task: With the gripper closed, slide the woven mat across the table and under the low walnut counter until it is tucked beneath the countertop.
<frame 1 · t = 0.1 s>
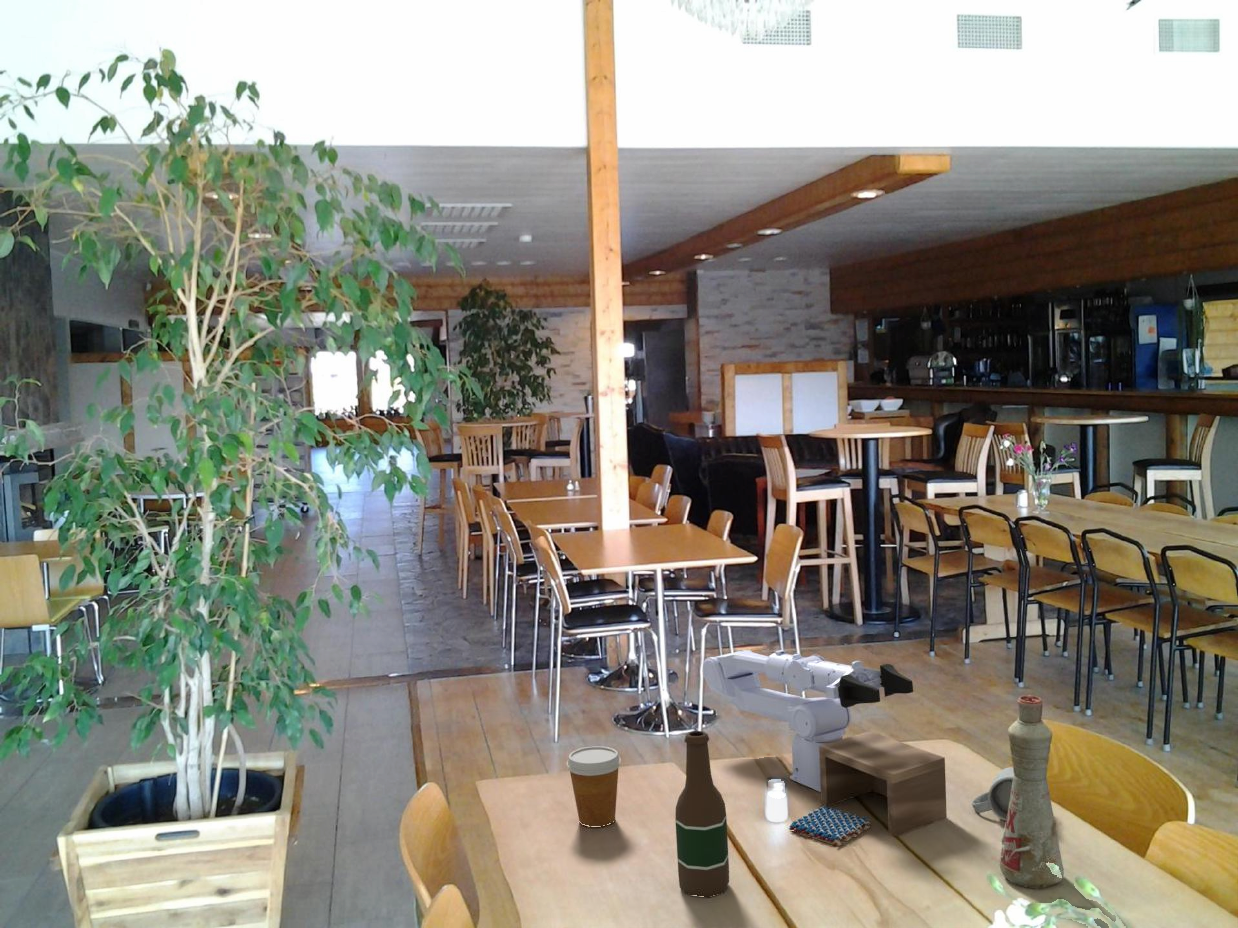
hand: (895, 691, 196), 22 cm above the table, tool horizontal, fingers open, 7 cm apart
woven mat: (830, 832, 194), on the table
beer bottle: (704, 887, 175), on the table
ceramic mug: (1005, 814, 196), on the table
walnut counter: (882, 810, 200), on the table
disposable coffee cup: (597, 821, 202), on the table
bottle: (1031, 878, 172), on the table
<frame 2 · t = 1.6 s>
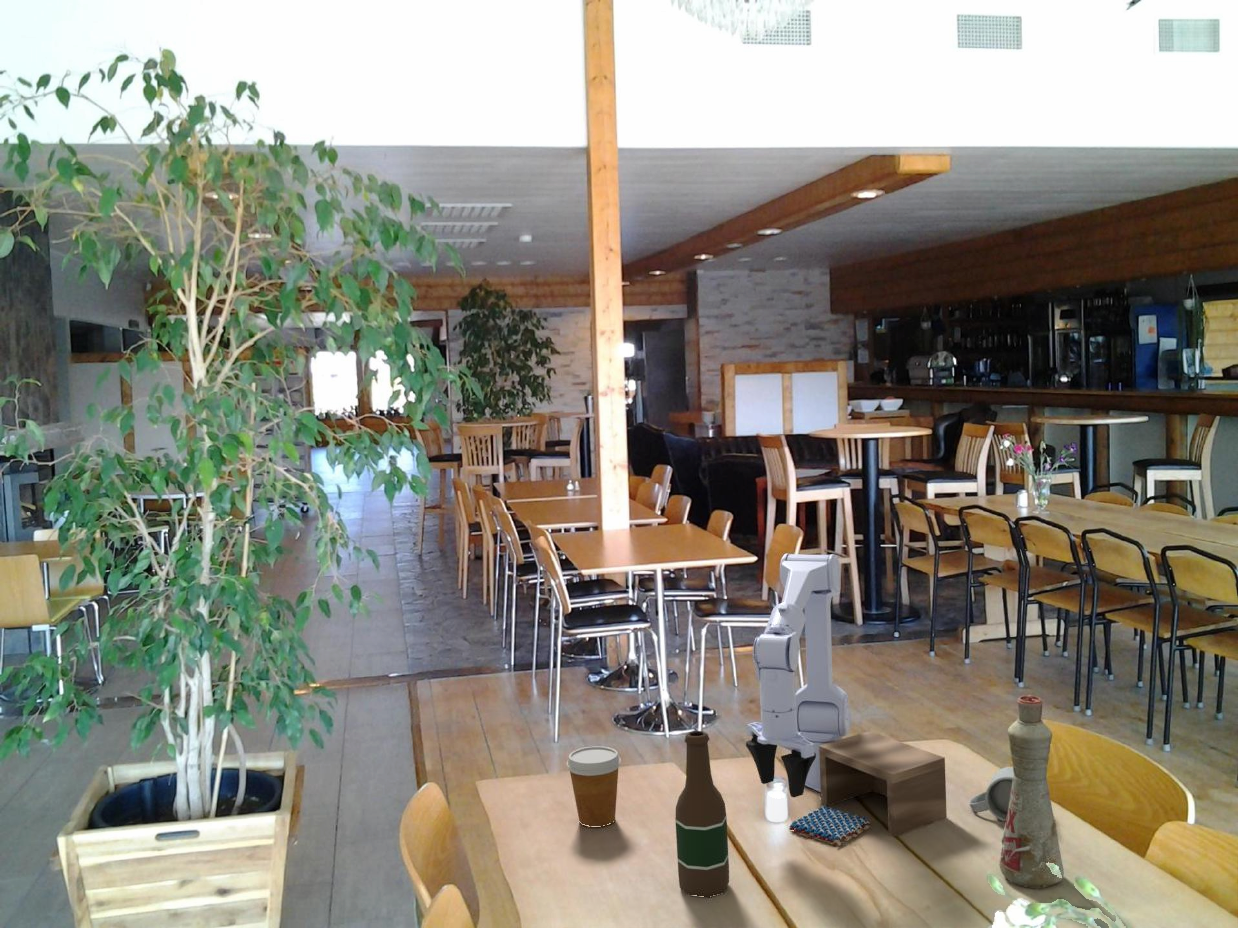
hand: (781, 788, 188), 9 cm above the table, tool pointing down, fingers open, 7 cm apart
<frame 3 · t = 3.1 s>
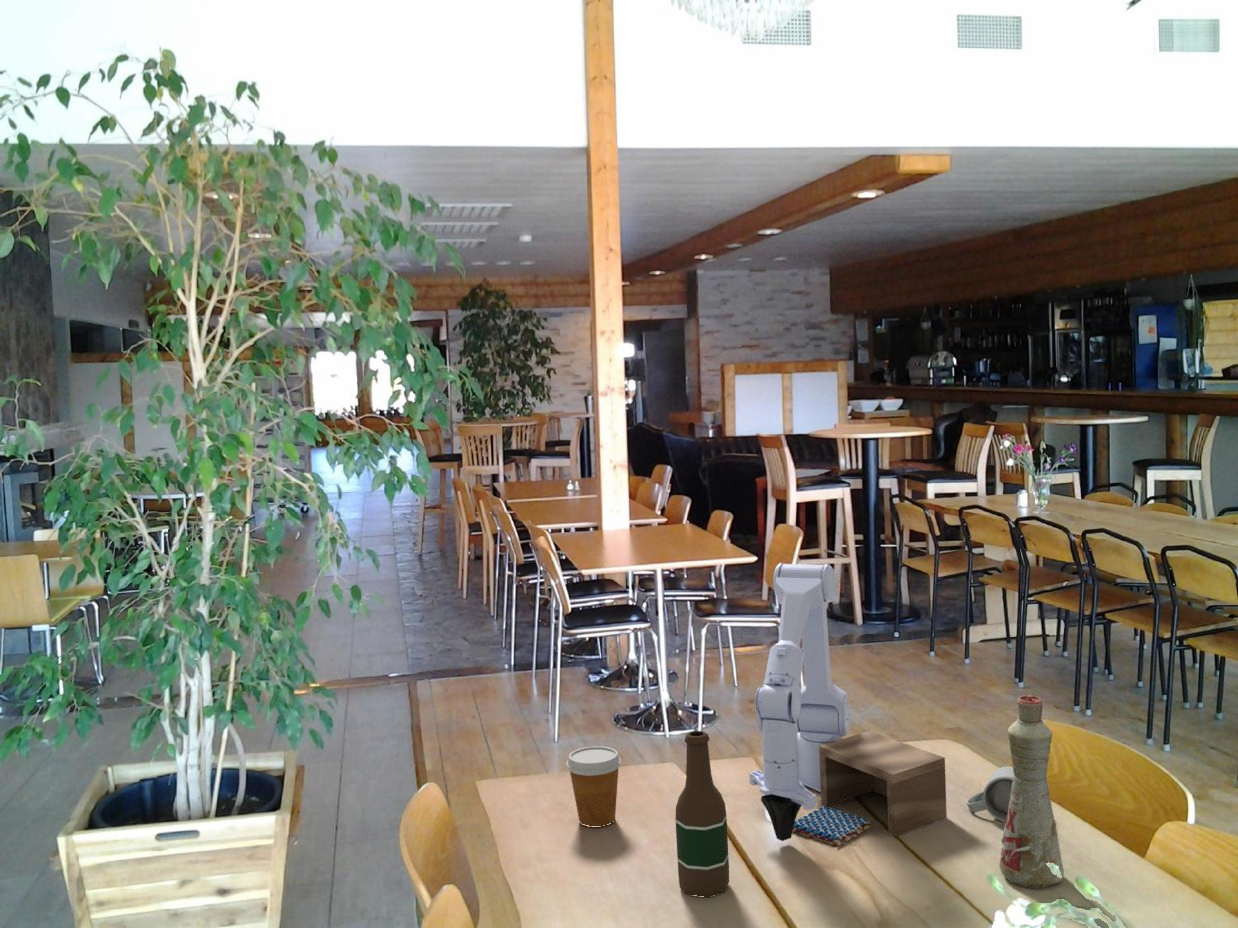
hand: (784, 838, 188), 1 cm above the table, tool pointing down, fingers closed
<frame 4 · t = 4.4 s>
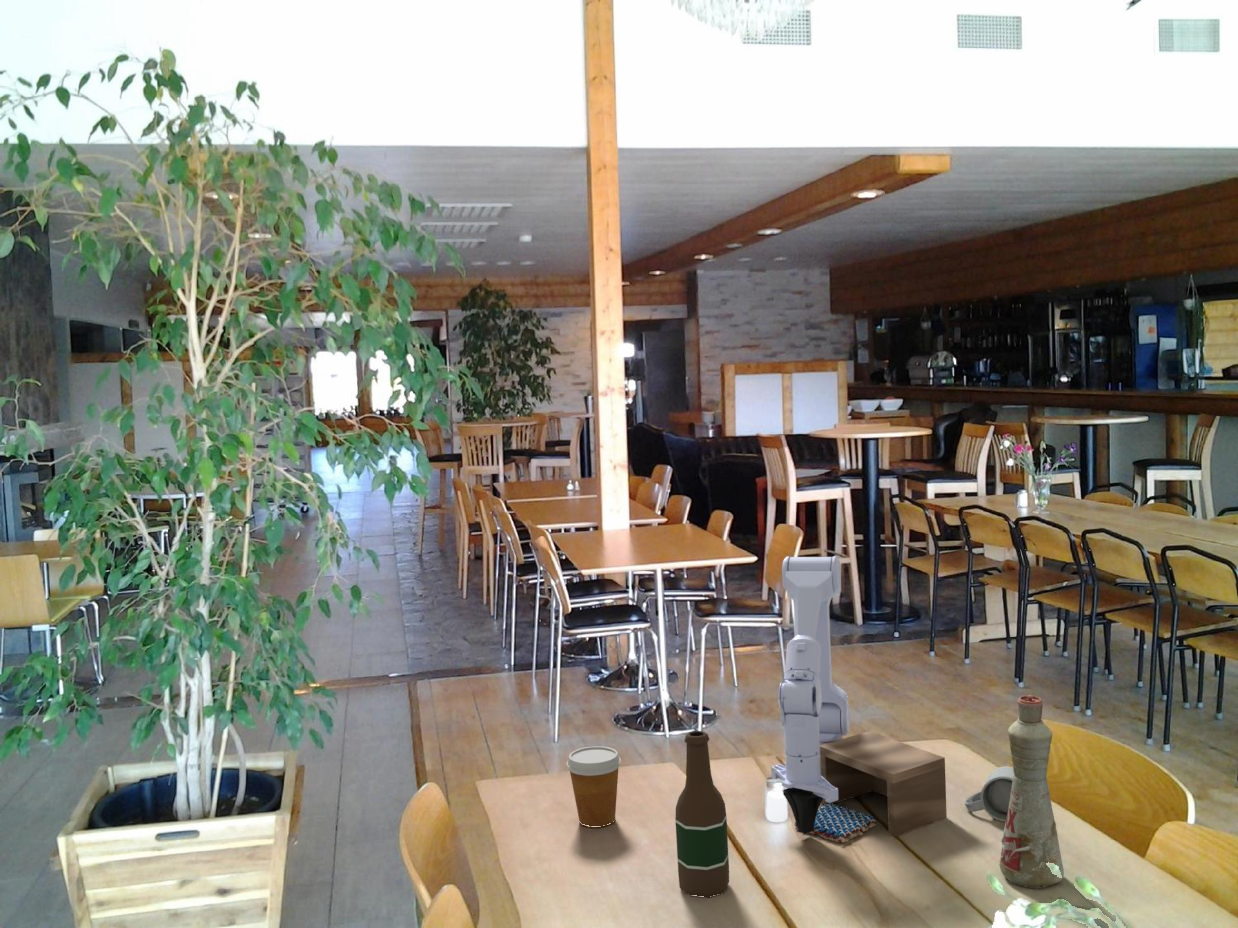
hand: (805, 830, 191), 1 cm above the table, tool pointing down, fingers closed
woven mat: (836, 829, 194), on the table
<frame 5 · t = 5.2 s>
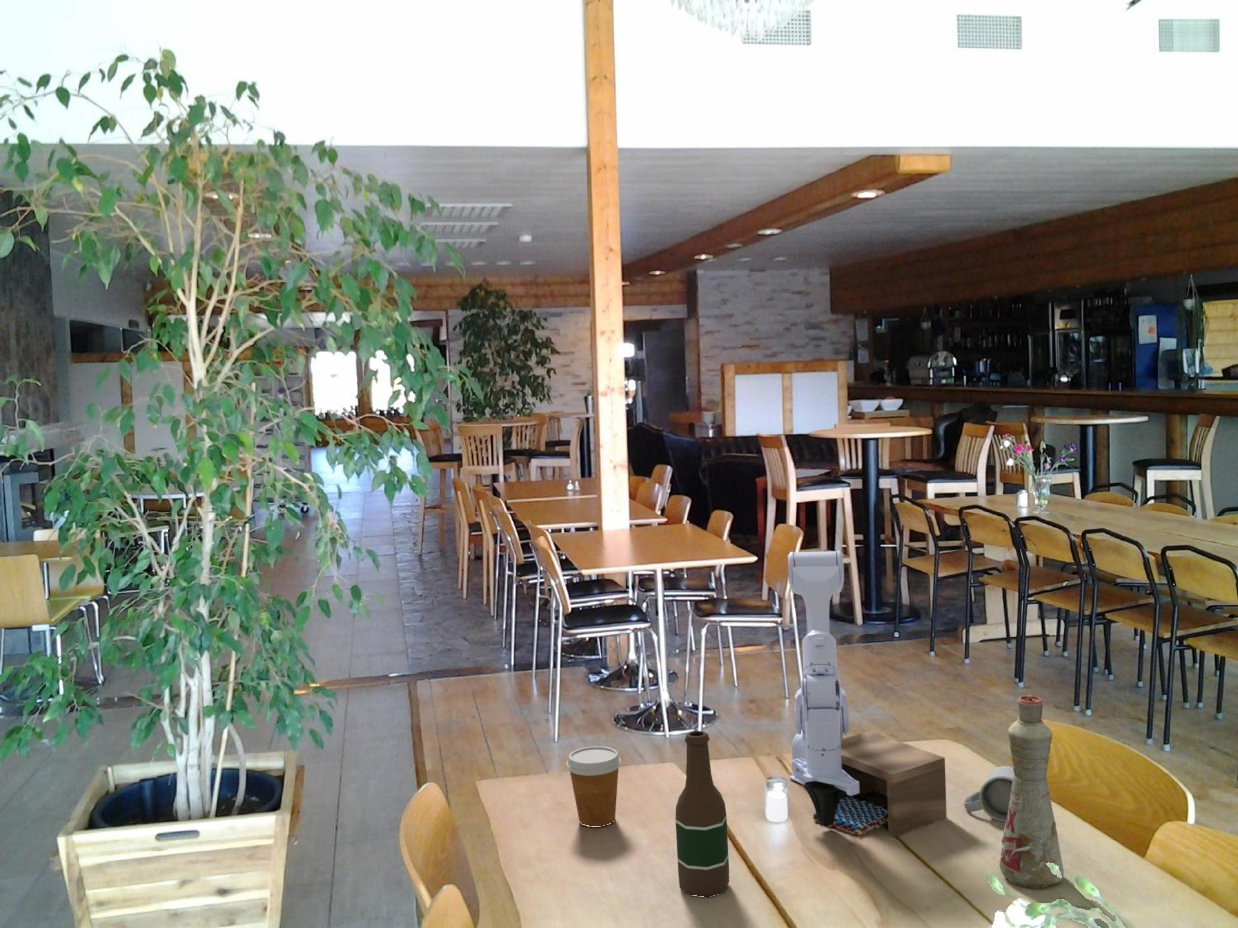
hand: (826, 823, 193), 1 cm above the table, tool pointing down, fingers closed
woven mat: (853, 822, 197), on the table, touching gripper
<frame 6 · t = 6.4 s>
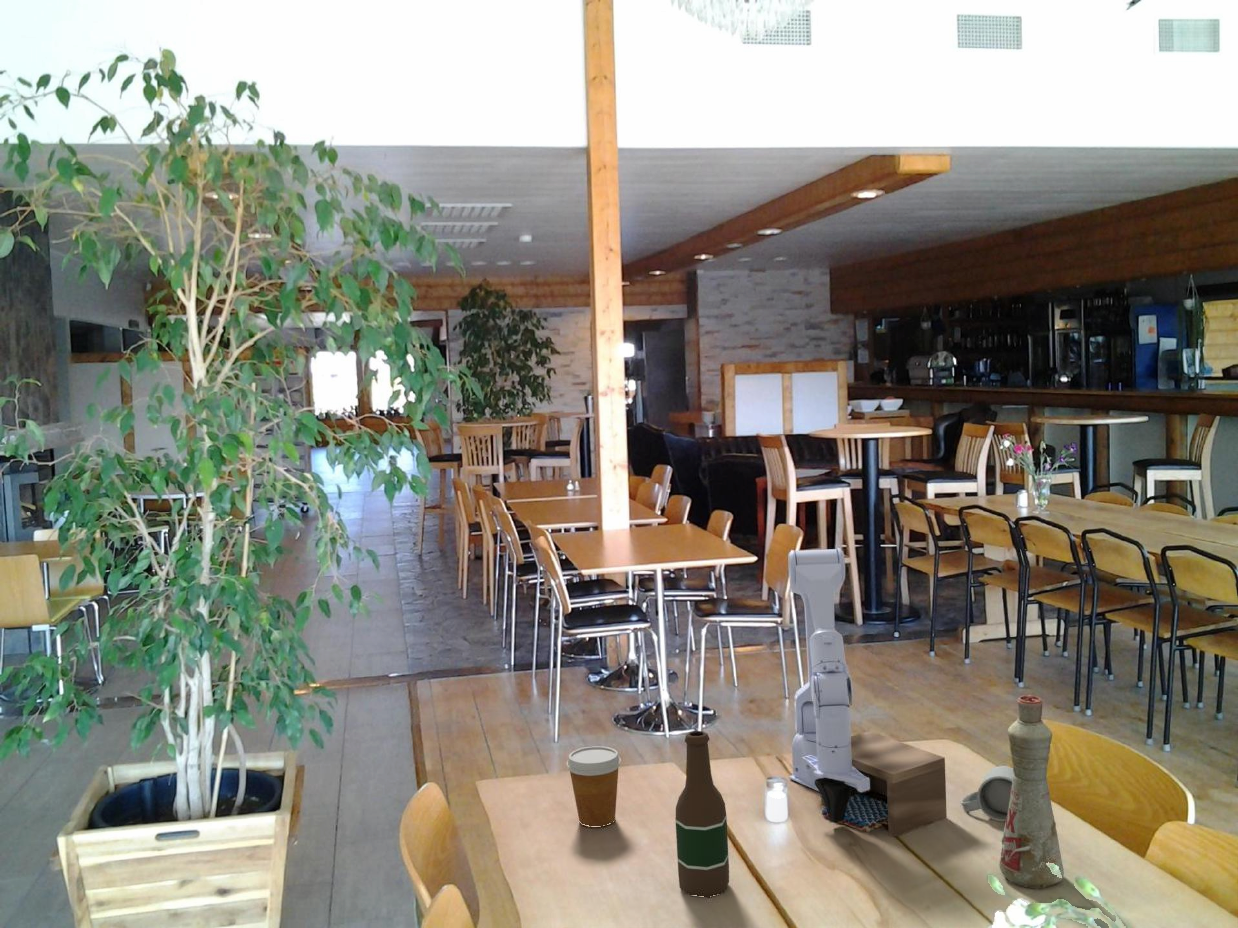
hand: (836, 820, 194), 1 cm above the table, tool pointing down, fingers closed
woven mat: (862, 819, 198), on the table
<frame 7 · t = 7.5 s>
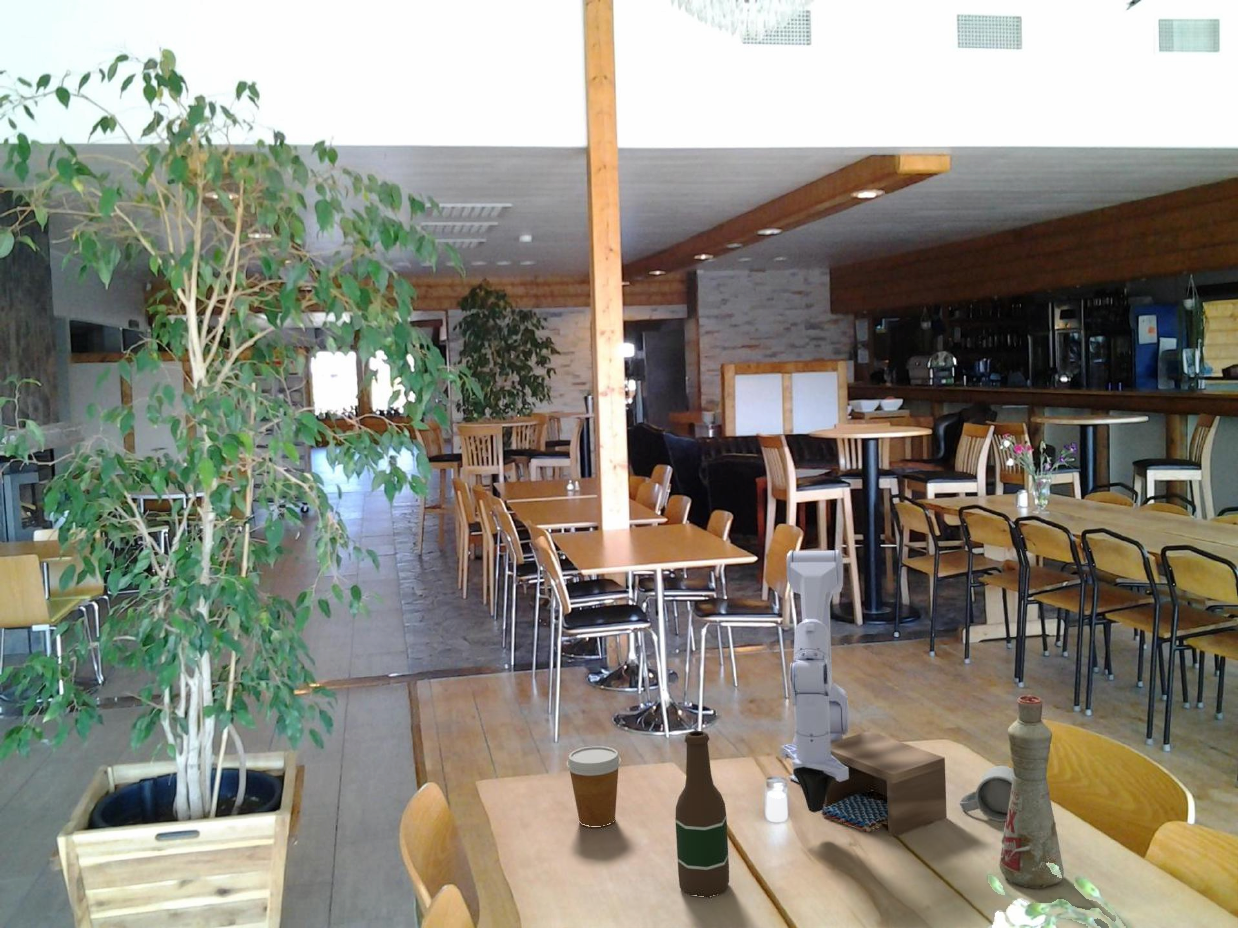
hand: (815, 809, 192), 4 cm above the table, tool pointing down, fingers closed
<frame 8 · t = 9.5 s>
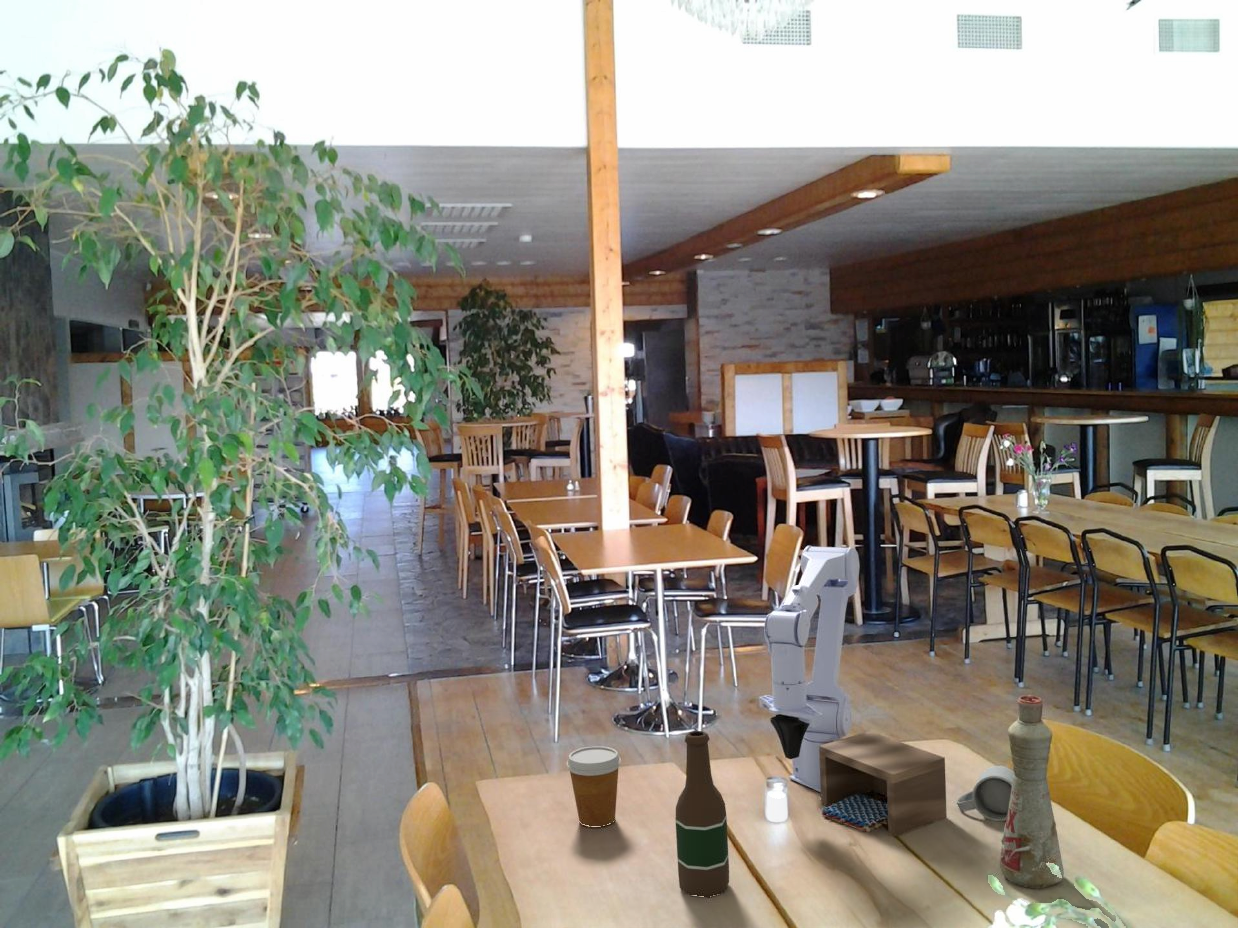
hand: (792, 756, 199), 10 cm above the table, tool pointing down, fingers closed
at the end: woven mat inside the target area (2.9 cm from its centre), on the table; woven mat moved 8.0 cm from its start; the gripper is holding nothing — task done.
